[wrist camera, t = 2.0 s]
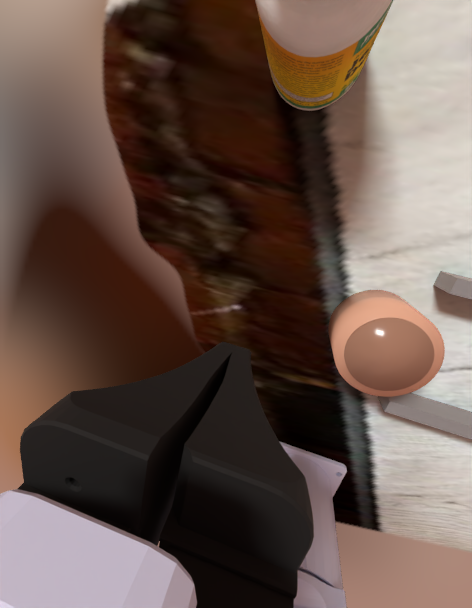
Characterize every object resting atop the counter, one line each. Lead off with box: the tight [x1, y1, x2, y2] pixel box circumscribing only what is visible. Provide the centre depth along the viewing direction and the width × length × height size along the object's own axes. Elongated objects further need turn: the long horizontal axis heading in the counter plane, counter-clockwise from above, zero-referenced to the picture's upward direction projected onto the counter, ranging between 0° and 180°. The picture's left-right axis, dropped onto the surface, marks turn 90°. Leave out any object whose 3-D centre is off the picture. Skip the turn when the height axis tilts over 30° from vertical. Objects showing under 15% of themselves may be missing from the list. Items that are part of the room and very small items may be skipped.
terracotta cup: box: [328, 290, 444, 397], centre depth 18 cm, size 6×6×4 cm
